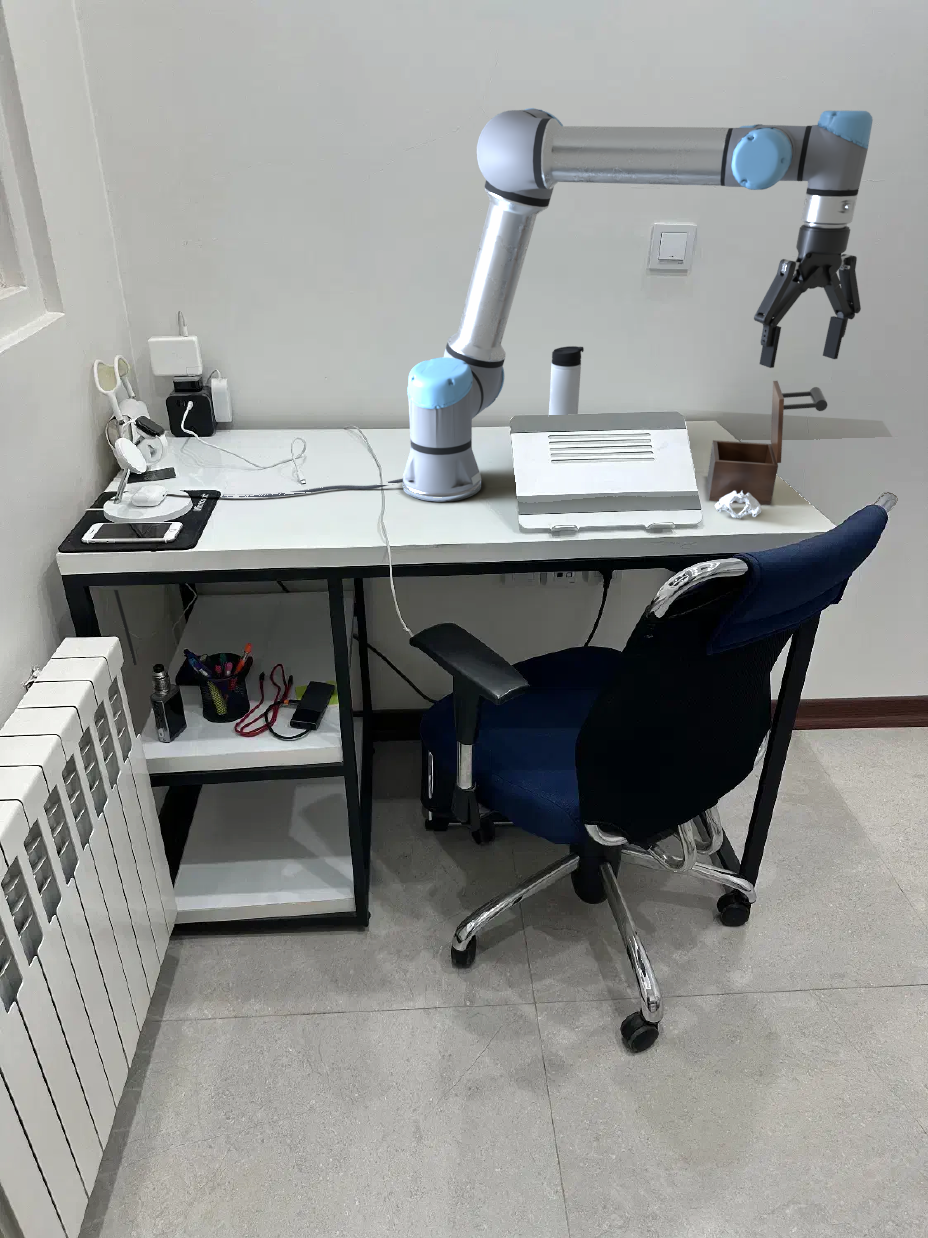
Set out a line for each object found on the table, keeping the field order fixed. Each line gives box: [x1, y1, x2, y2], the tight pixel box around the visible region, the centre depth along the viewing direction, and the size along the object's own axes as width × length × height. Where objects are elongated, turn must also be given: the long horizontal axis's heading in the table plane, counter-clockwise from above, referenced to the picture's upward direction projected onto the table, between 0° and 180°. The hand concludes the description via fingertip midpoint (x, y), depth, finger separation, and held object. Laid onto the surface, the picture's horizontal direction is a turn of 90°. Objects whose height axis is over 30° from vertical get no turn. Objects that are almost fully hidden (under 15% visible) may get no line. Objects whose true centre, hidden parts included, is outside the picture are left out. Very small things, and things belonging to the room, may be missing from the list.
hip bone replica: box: [714, 491, 762, 519], centre depth 155 cm, size 8×4×7 cm
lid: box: [770, 380, 828, 464], centre depth 157 cm, size 12×12×8 cm
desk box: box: [706, 439, 779, 506], centre depth 164 cm, size 11×12×8 cm
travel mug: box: [548, 345, 585, 416], centre depth 186 cm, size 6×7×20 cm
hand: (798, 361), depth 146 cm, fingers open, 13 cm apart
